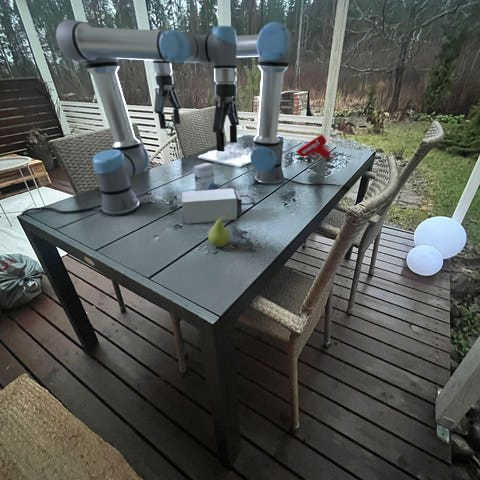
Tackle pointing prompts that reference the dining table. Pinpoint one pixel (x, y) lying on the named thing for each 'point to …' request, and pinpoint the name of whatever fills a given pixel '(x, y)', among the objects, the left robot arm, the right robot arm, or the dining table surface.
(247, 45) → the right robot arm
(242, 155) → the relief map
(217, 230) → the fruit
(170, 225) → the dining table surface
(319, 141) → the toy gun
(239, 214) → the drawer
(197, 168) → the ink box
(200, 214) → the cabinet
